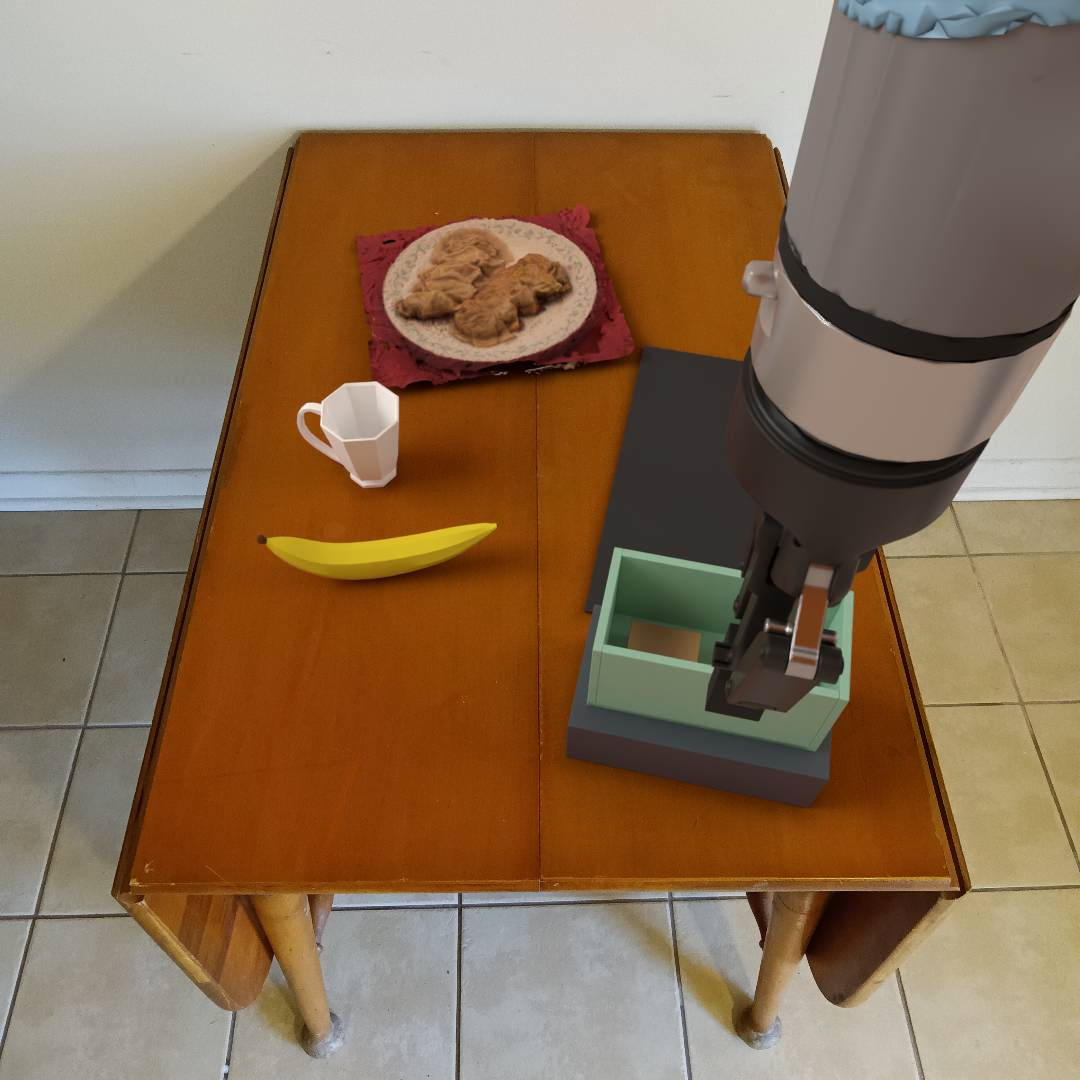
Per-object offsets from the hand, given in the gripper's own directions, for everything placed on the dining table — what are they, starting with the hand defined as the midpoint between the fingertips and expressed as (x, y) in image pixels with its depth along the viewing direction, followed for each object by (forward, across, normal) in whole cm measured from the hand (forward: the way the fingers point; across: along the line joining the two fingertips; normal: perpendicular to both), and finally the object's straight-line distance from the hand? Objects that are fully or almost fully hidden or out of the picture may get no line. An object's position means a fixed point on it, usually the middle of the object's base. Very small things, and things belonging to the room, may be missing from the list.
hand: (733, 702), depth 48 cm
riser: (+24, -10, 0) cm, 26 cm away
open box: (+18, -10, 0) cm, 21 cm away
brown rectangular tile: (+18, -10, -3) cm, 21 cm away
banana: (+24, -18, -27) cm, 40 cm away
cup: (+24, -28, -33) cm, 49 cm away
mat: (+24, -32, -3) cm, 41 cm away
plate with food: (+24, -52, -27) cm, 63 cm away
